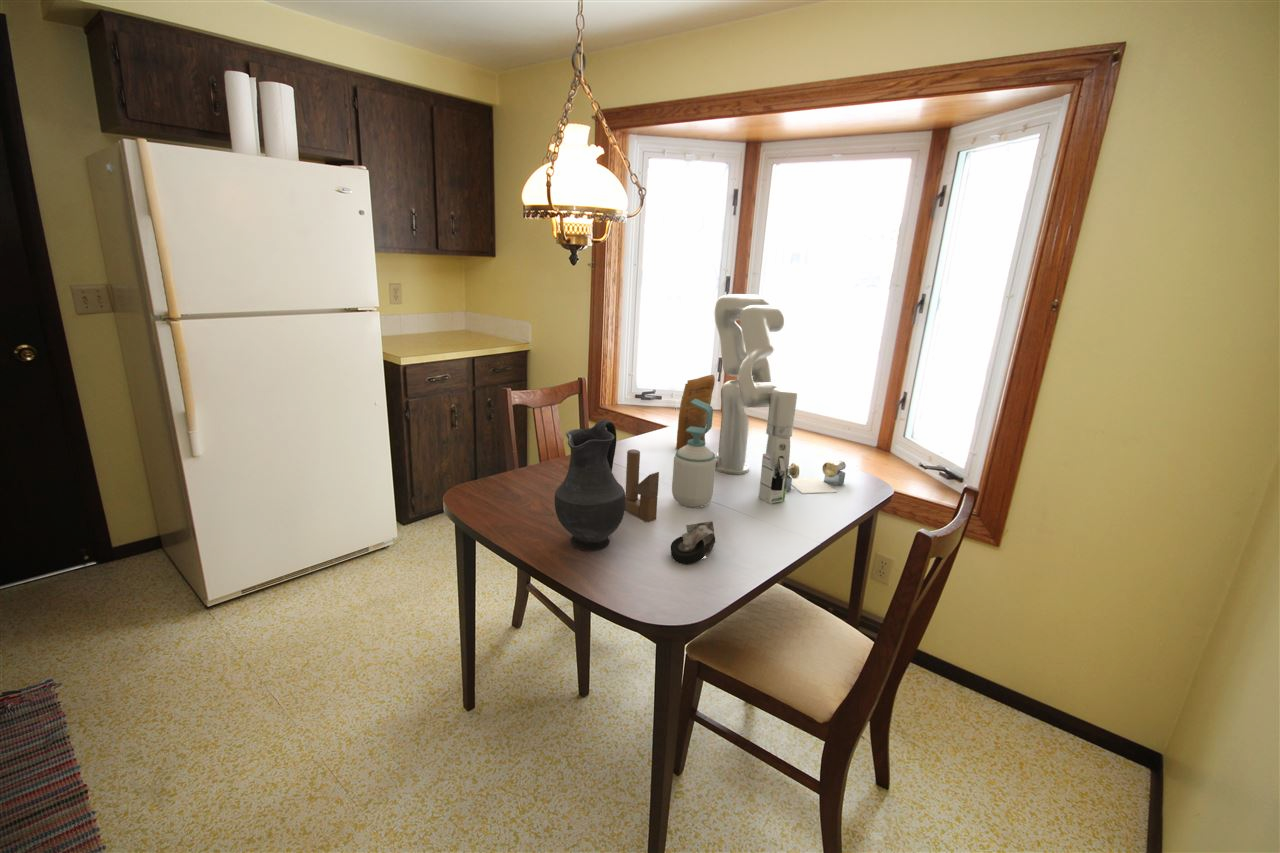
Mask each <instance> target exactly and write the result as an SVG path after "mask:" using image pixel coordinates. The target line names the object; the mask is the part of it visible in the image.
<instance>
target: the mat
mask: <svg viewBox="0 0 1280 853" xmlns="http://www.w3.org/2000/svg"><path fill="white" fill-rule="evenodd" d="M791 487H794V489H796V490H797V491H798V492H799V493H800V494H802V495H804V494H805V495H806V494H833V493H835V494H836V493H837V491H836V490H835V489H834V488H832V487H831V486H830V485H828V484H827V482H824V480H821V478H819V477H805V478H804V477H803V478H800V477H798V478H797V479H793V478H792V482H791Z"/></svg>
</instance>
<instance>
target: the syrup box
mask: <svg viewBox="0 0 1280 853" xmlns="http://www.w3.org/2000/svg"><path fill="white" fill-rule="evenodd" d="M776 468H779V466H778V465H776ZM760 470H761V471H760V479H759V480H760V481H759V491H758V497H759V499H761V500H762V501H764V502H765V503H768V504H770V505H771V504H775V503H780V502H785V500H786V492H787V490H786V484H787V475H788V469H787V470H786V469H785V472H784V478H783V485H782V490H781V491H776V490H771V483H772V477H774V476H773V472H774V469H773V468H772V467H771V464H770V456H769V455H768V454H766V453H763V454H762V458H761V469H760ZM777 472H779V470H776V473H777Z"/></svg>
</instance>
